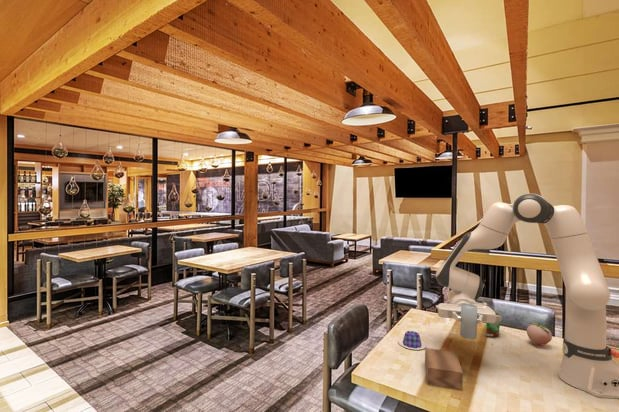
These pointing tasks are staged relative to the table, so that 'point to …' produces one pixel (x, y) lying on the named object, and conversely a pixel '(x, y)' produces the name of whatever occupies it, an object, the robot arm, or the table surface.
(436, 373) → the walnut block
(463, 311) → the metal cylinder
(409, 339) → the pudding
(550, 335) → the decorative fruit
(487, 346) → the table surface
